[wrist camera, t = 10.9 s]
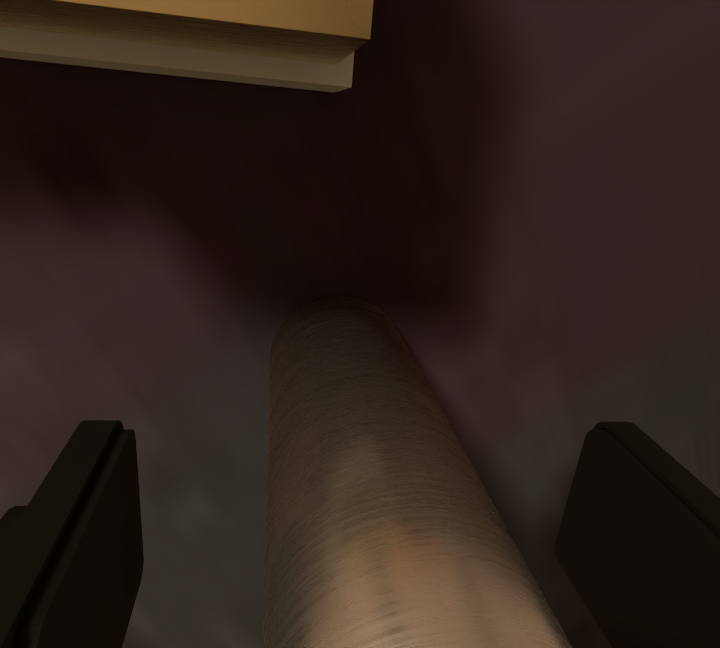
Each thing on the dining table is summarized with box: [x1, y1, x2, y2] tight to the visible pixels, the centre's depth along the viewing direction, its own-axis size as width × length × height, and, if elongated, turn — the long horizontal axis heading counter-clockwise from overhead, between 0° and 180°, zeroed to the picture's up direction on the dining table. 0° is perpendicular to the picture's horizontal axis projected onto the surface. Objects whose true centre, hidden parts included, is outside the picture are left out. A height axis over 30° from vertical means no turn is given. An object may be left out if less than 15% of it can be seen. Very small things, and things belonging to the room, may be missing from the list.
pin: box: [263, 296, 573, 648], centre depth 9 cm, size 4×4×13 cm
